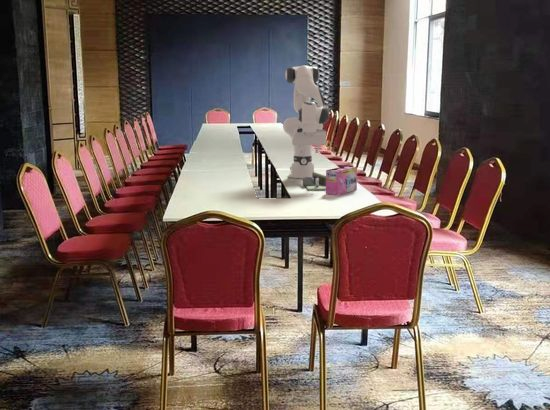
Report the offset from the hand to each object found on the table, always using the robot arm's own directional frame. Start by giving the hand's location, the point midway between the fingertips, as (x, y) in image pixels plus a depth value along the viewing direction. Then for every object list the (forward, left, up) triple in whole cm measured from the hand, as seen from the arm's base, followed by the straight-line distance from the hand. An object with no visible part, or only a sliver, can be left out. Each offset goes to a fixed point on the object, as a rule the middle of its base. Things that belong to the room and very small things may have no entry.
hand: (308, 152), depth 355 cm
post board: (+11, +6, -20) cm, 24 cm away
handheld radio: (-7, +7, -21) cm, 23 cm away
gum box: (+19, +16, -21) cm, 32 cm away
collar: (0, 0, -20) cm, 20 cm away
